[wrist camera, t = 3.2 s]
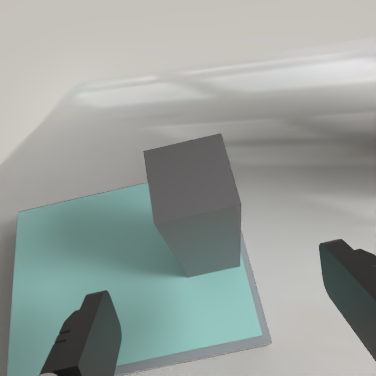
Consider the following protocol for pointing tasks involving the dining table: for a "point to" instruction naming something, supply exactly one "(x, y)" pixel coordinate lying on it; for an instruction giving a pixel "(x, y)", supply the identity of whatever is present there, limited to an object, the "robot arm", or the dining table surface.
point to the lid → (138, 261)
